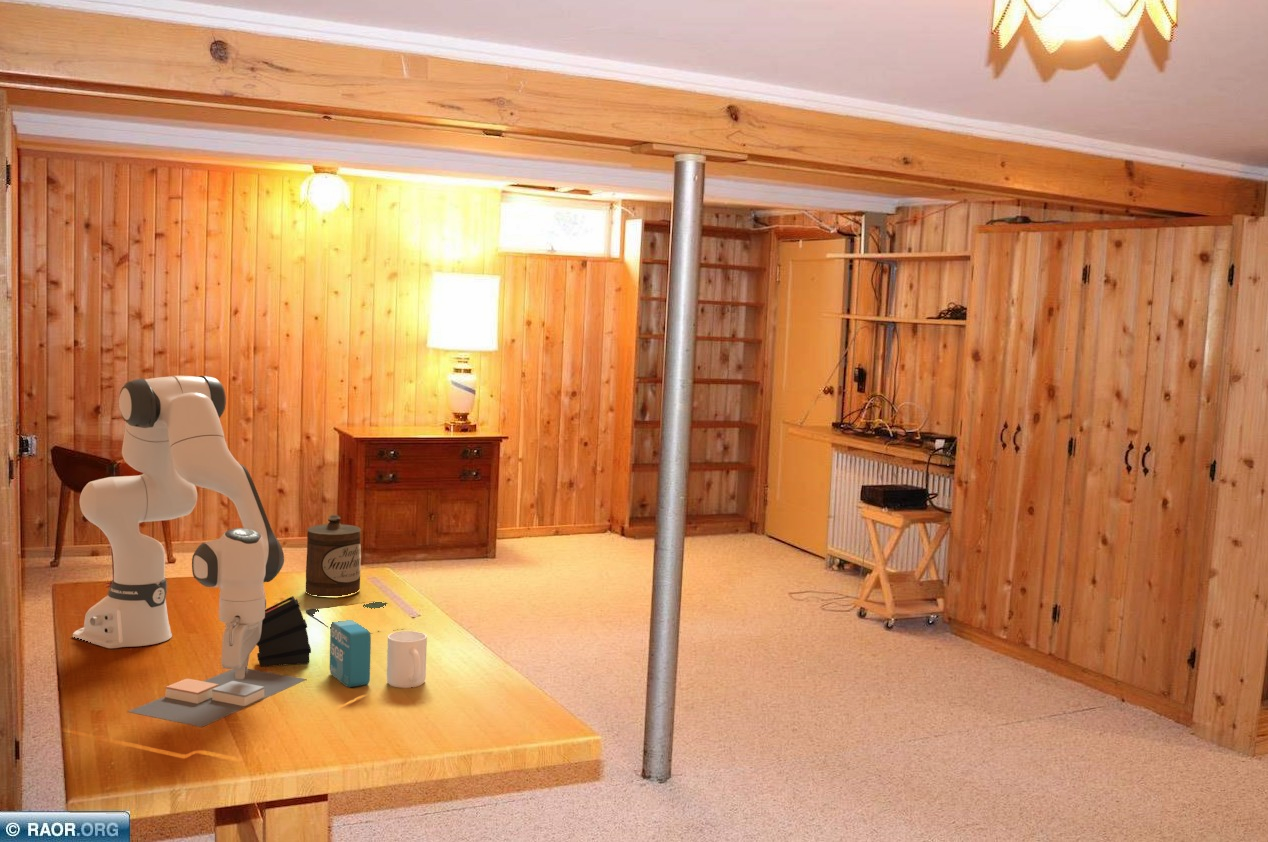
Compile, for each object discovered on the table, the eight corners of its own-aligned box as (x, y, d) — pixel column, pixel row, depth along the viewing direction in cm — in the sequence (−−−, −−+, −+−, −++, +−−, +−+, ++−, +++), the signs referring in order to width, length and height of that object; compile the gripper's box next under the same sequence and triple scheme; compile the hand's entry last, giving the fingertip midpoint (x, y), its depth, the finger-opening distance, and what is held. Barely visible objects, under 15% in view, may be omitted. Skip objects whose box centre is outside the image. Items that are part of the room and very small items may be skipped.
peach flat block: (165, 686, 231) (187, 678, 236) (165, 697, 231) (187, 688, 237) (197, 692, 228) (218, 684, 234) (197, 703, 228) (218, 694, 234)
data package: (329, 673, 252) (330, 620, 251) (348, 670, 255) (349, 618, 254) (350, 689, 242) (351, 634, 241) (370, 686, 245) (371, 631, 244)
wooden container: (332, 601, 313) (334, 522, 311) (294, 592, 320) (295, 515, 318) (371, 591, 326) (372, 515, 324) (333, 583, 333) (334, 508, 331)
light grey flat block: (212, 689, 230) (232, 680, 236) (212, 699, 231) (232, 691, 236) (244, 695, 228) (264, 686, 233) (244, 706, 228) (264, 697, 233)
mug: (435, 691, 243) (437, 644, 242) (397, 696, 240) (398, 648, 239) (419, 674, 254) (420, 629, 253) (382, 678, 250) (383, 632, 249)
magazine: (324, 656, 259) (296, 598, 255) (269, 684, 255) (239, 626, 252) (322, 651, 262) (294, 594, 259) (268, 679, 259) (238, 622, 255)
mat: (127, 714, 222) (127, 711, 222) (238, 669, 252) (238, 666, 252) (201, 730, 216) (201, 727, 216) (306, 681, 246) (306, 679, 246)
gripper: (247, 624, 221) (246, 694, 223) (267, 597, 241) (266, 661, 243) (213, 624, 220) (212, 693, 222) (236, 597, 241) (236, 661, 242)
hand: (241, 676), depth 232 cm, fingers closed
